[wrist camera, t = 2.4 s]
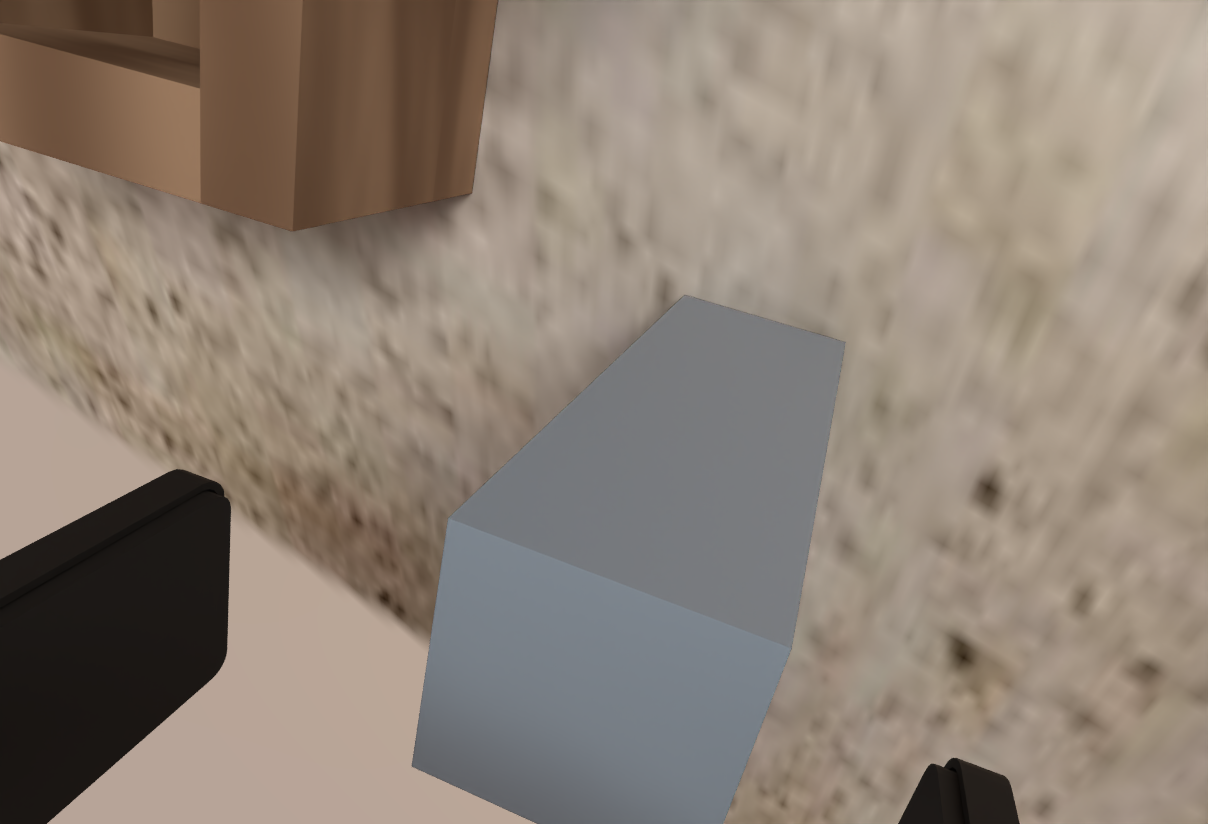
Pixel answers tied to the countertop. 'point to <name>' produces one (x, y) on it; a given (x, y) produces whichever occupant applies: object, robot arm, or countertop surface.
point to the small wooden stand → (255, 98)
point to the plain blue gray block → (634, 580)
